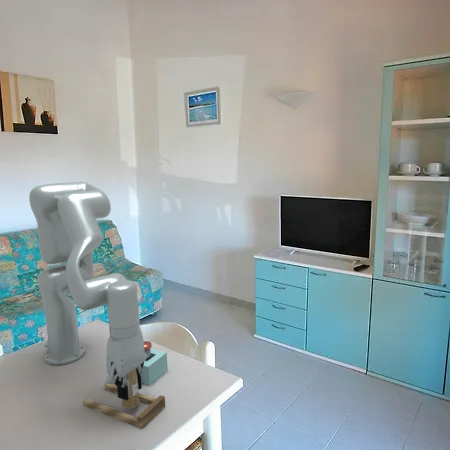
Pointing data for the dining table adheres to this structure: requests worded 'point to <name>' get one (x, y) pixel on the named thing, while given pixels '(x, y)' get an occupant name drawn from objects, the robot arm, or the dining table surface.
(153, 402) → the oak rail
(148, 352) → the button
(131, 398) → the sprinkles bottle
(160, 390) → the dining table surface
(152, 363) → the teal button box
